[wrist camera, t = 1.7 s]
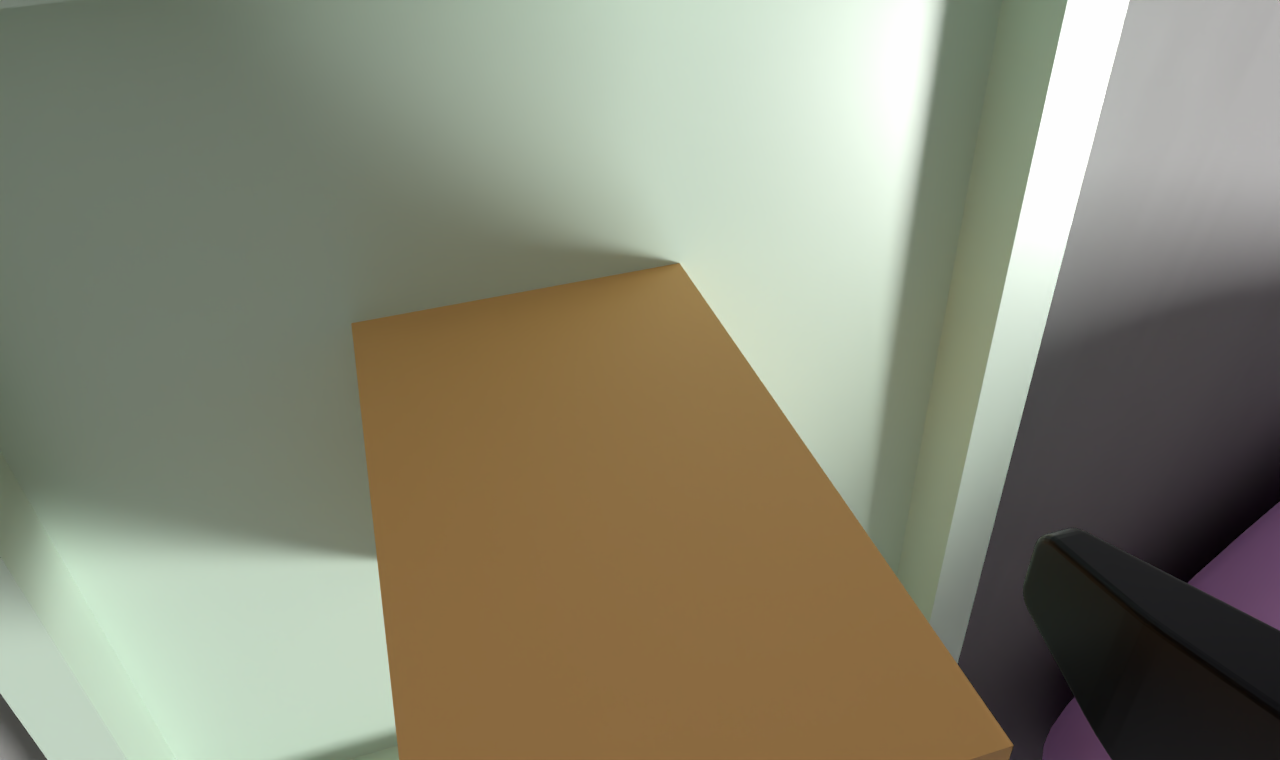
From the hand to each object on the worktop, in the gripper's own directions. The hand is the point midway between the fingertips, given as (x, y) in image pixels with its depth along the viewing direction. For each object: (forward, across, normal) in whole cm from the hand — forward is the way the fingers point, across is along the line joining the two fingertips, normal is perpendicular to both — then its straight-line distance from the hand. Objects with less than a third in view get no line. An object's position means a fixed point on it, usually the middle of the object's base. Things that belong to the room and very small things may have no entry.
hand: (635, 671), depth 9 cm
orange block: (+4, 0, 0) cm, 4 cm away
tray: (+5, 0, 0) cm, 5 cm away
